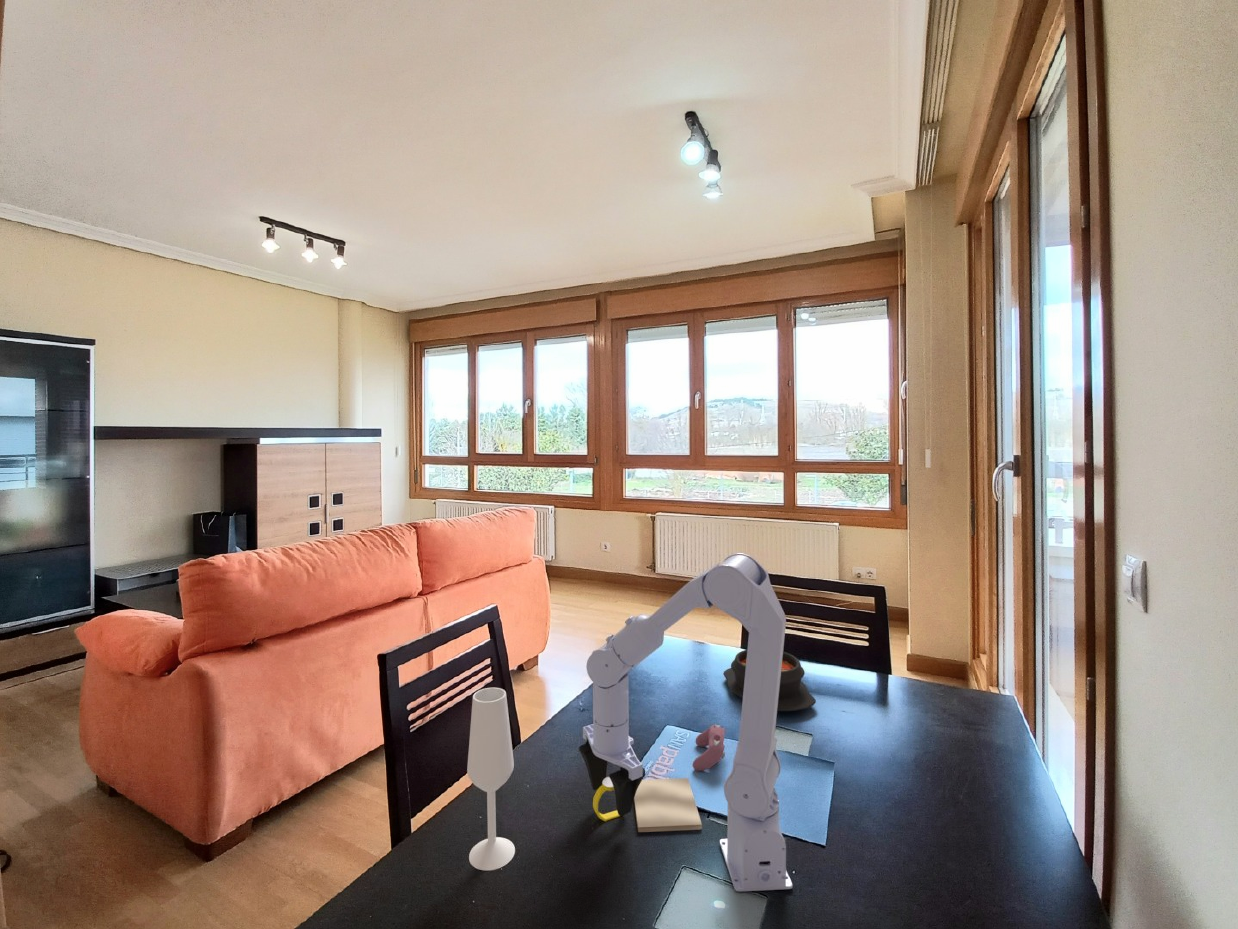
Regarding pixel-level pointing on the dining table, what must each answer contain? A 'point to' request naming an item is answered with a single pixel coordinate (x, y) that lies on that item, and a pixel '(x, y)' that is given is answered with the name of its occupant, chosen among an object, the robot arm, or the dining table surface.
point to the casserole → (791, 686)
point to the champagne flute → (490, 770)
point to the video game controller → (710, 747)
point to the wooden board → (666, 806)
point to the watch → (605, 786)
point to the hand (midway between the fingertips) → (611, 799)
